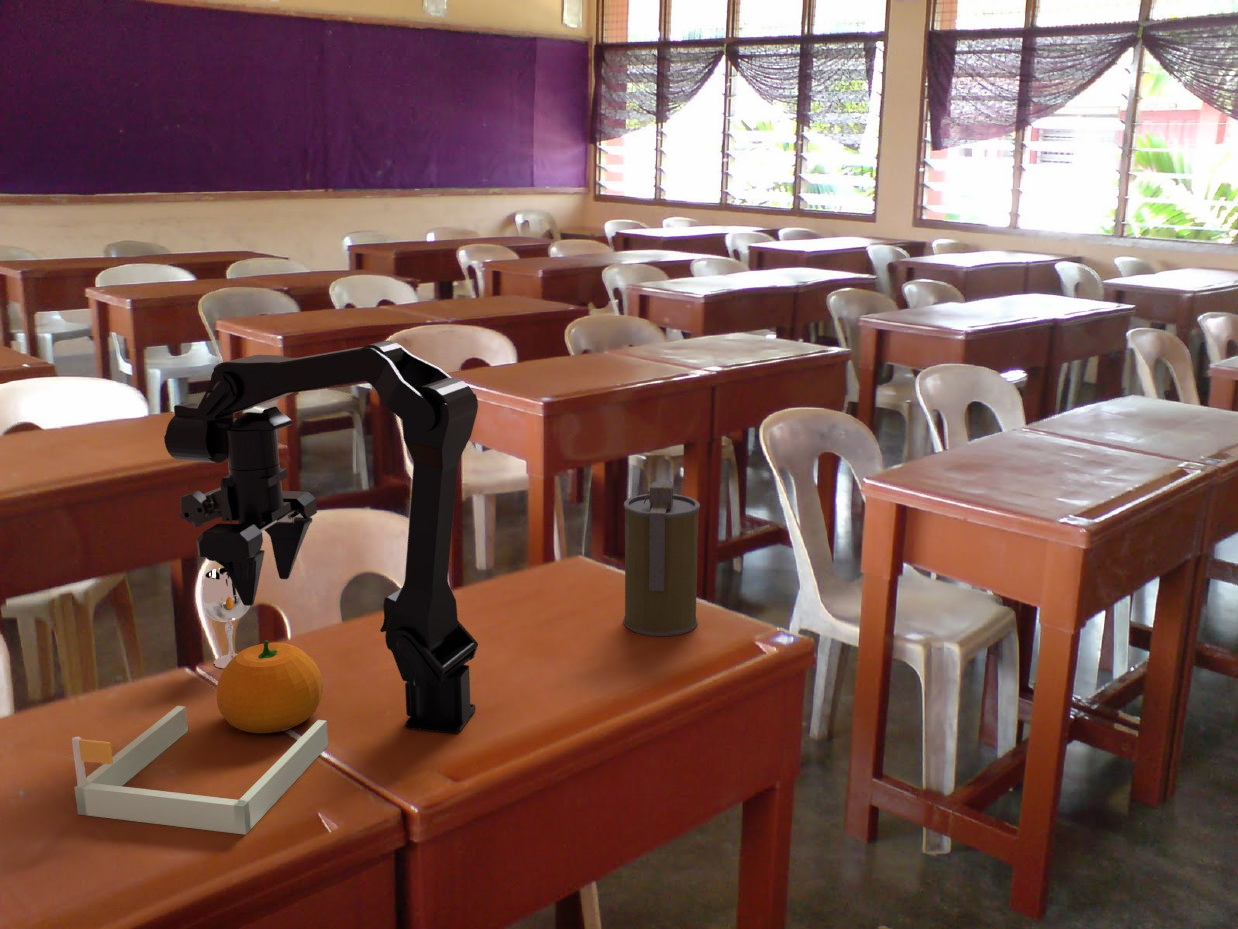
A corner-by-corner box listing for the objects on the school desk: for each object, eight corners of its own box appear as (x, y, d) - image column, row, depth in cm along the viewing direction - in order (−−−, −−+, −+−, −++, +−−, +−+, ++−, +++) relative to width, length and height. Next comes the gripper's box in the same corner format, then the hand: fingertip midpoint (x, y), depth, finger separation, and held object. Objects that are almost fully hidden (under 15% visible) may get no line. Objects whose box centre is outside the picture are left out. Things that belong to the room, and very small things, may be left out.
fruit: (344, 719, 134) (339, 638, 131) (252, 755, 126) (245, 670, 123) (290, 689, 142) (284, 612, 139) (200, 721, 134) (192, 640, 131)
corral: (328, 745, 128) (323, 678, 126) (245, 834, 111) (239, 758, 109) (180, 730, 131) (173, 664, 129) (77, 814, 114) (68, 740, 112)
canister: (628, 607, 168) (629, 473, 163) (700, 610, 167) (702, 476, 162) (618, 635, 158) (618, 494, 153) (694, 640, 156) (697, 497, 151)
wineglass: (241, 672, 146) (233, 582, 143) (199, 668, 147) (191, 579, 144) (263, 654, 152) (256, 567, 149) (223, 650, 153) (215, 564, 150)
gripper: (229, 446, 145) (242, 564, 149) (145, 483, 127) (162, 617, 131) (313, 447, 143) (323, 567, 147) (239, 486, 125) (253, 621, 129)
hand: (267, 591), depth 139 cm, fingers open, 9 cm apart
